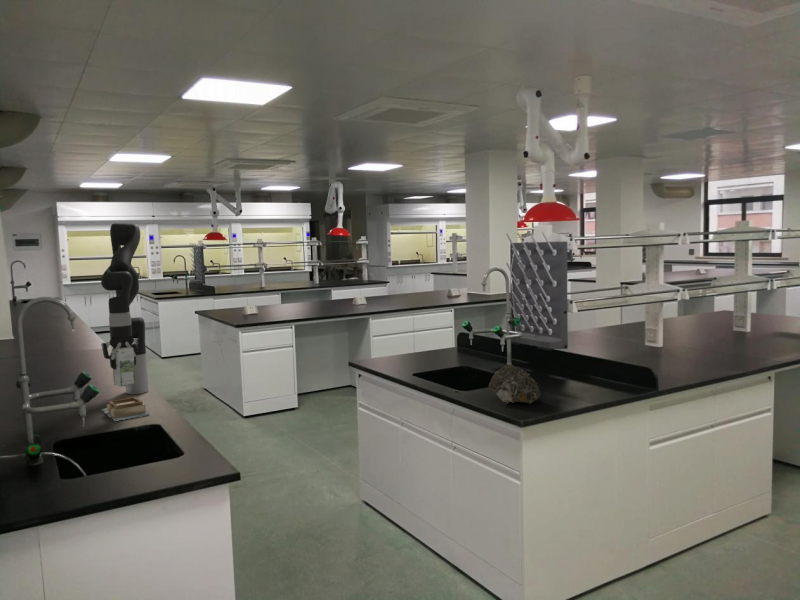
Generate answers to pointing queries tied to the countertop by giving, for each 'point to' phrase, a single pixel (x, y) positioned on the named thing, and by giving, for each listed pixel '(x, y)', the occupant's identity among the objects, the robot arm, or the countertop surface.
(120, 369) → the syrup box
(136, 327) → the robot arm
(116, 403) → the build plinth
